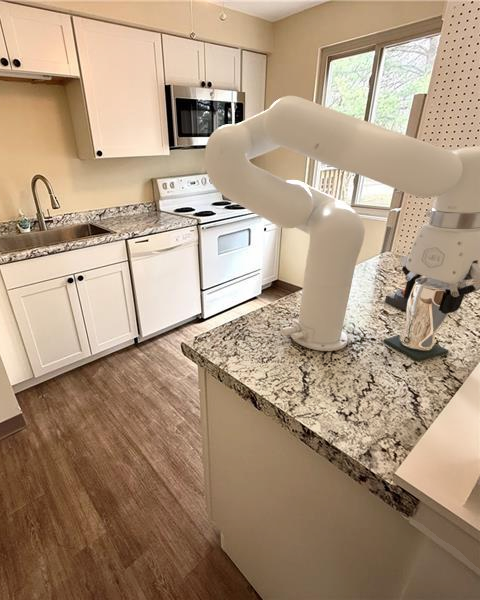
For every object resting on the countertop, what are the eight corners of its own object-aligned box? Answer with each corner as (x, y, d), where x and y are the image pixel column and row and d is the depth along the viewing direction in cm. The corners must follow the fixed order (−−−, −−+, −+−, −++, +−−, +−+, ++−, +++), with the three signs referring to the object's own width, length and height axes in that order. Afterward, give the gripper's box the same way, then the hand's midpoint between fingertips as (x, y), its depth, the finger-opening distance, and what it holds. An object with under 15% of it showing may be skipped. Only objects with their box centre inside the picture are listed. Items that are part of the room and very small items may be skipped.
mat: (417, 361, 66) (418, 358, 65) (383, 342, 73) (384, 339, 73) (447, 353, 67) (449, 350, 67) (411, 335, 74) (412, 332, 74)
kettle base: (413, 316, 81) (417, 302, 80) (382, 302, 89) (385, 290, 88) (449, 308, 83) (454, 294, 82) (415, 295, 91) (419, 283, 90)
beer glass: (421, 335, 72) (441, 275, 66) (444, 352, 66) (469, 288, 60) (389, 336, 73) (405, 277, 67) (409, 353, 67) (429, 290, 61)
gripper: (395, 215, 65) (376, 292, 72) (498, 231, 49) (461, 327, 57) (424, 210, 66) (403, 286, 74) (534, 224, 51) (492, 319, 58)
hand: (428, 303), depth 65 cm, fingers closed on beer glass, 7 cm apart
